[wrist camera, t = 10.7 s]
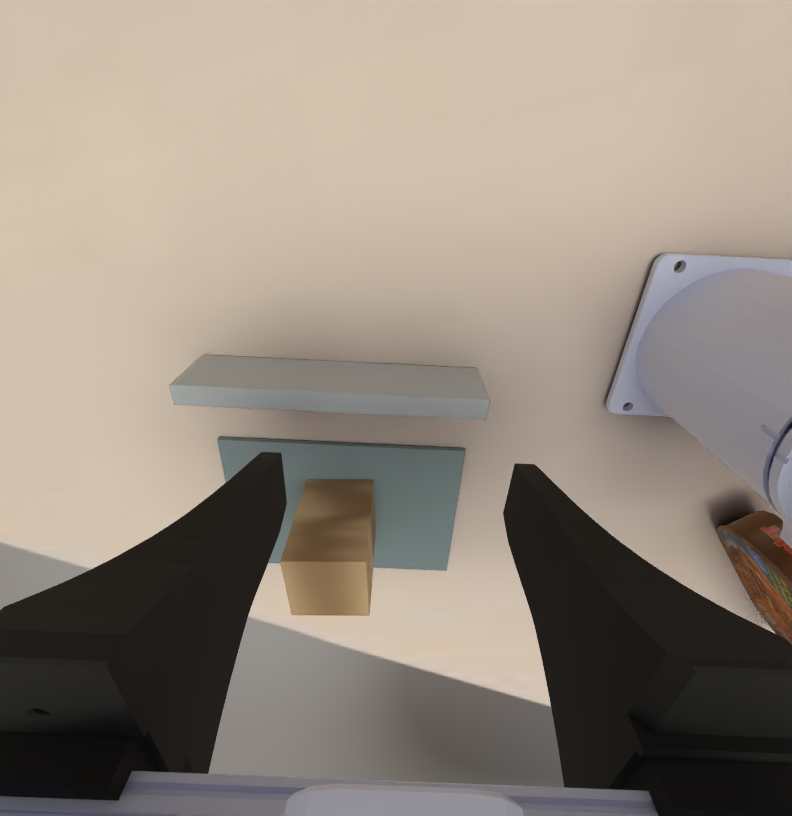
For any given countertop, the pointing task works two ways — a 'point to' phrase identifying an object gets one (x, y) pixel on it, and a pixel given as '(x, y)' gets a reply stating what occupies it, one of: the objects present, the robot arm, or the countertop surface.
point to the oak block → (331, 548)
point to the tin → (763, 566)
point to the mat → (393, 488)
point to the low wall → (332, 387)
